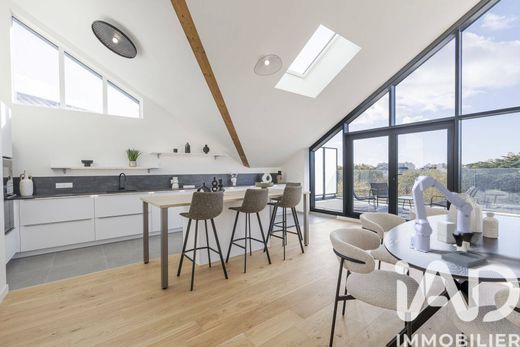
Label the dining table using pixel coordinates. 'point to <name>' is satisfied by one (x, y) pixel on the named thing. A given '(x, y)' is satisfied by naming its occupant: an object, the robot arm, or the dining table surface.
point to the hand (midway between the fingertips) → (463, 245)
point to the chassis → (464, 258)
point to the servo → (464, 247)
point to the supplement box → (446, 231)
